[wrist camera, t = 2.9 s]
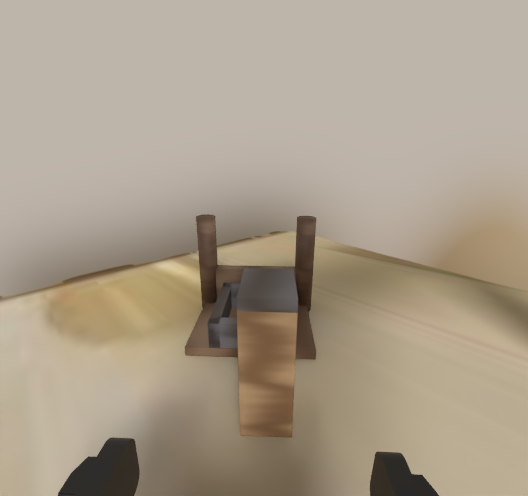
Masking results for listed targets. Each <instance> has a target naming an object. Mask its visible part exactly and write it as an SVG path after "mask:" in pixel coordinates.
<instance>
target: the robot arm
mask: <svg viewBox="0 0 528 496" xmlns="http://www.w3.org/2000/svg"><path fill="white" fill-rule="evenodd" d="M138 480H139V464H138V458H137V452H136V445H135V441H134V439H130V438H109V439H108V440H107V441H106V443H105V444H104V446H103V447H102V449H101V451H100V452H99V454H98V456H97V457H87V458H86V459H85V460H84V461H83V462H82V463H81V464H80V465H79V466H78V467H77V468H76V469H75V470H74V471H73V472H72V473H71V474H70V476H69V477H68V479H67V481H66V482H65V484H64V485H63V487H62V488H61V490H60V491H59V493H58V496H134V494H135V492H136V488H137V485H138ZM370 496H439V495H438V494H437V492H436V491H435V490H434V489H433V488H432V486H431V485H430V484H429V483H428V482H427V480H426V479H425V478H424V477H423V475H414V474H411V472H410V469H409V467H408V465H407V462H406V460H405V458H404V456H403V455H402V454H401V453H393V452H376V454H375V459H374V464H373V470H372V475H371V481H370Z"/></svg>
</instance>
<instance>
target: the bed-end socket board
mask: <svg viewBox="0 0 528 496" xmlns="http://www.w3.org/2000/svg"><path fill="white" fill-rule="evenodd" d="M196 221H197V234H198V250H199V264H200V278H201V292H202V306H203V309H202V312H201V314H200V316H199V318H198V320H197V322H196V325H195V327H194V329H193V331H192V333H191V335H190V337H189V340H188V342H187V344H186V346H185V354H186V355H192V356H226V357H238V336H237V301H236V298H237V294H238V290H239V286H240V283H241V279H242V275H243V271H244V268H249V269H294V275H295V282H296V288H297V295H298V314H297V336H296V357H295V359H315V357H316V349H315V344H314V339H313V334H312V330H311V325H310V320H309V315H308V311H309V310H310V308H311V292H312V276H313V261H314V245H315V228H316V218H315V217H312V216H299V217H297V235H296V258H295V267H279V266H226V265H217V245H216V225H215V216H214V215H199V216H196Z"/></svg>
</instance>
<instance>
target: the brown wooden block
mask: <svg viewBox="0 0 528 496" xmlns="http://www.w3.org/2000/svg"><path fill="white" fill-rule="evenodd" d="M236 301H237V336H238V371H239V406H240V435H247V436H273V437H292V420H293V399H294V378H295V357H296V336H297V314H298V295H297V288H296V282H295V275H294V269H249V268H244V271H243V275H242V279H241V283H240V286H239V290H238V294H237V298H236Z"/></svg>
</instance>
